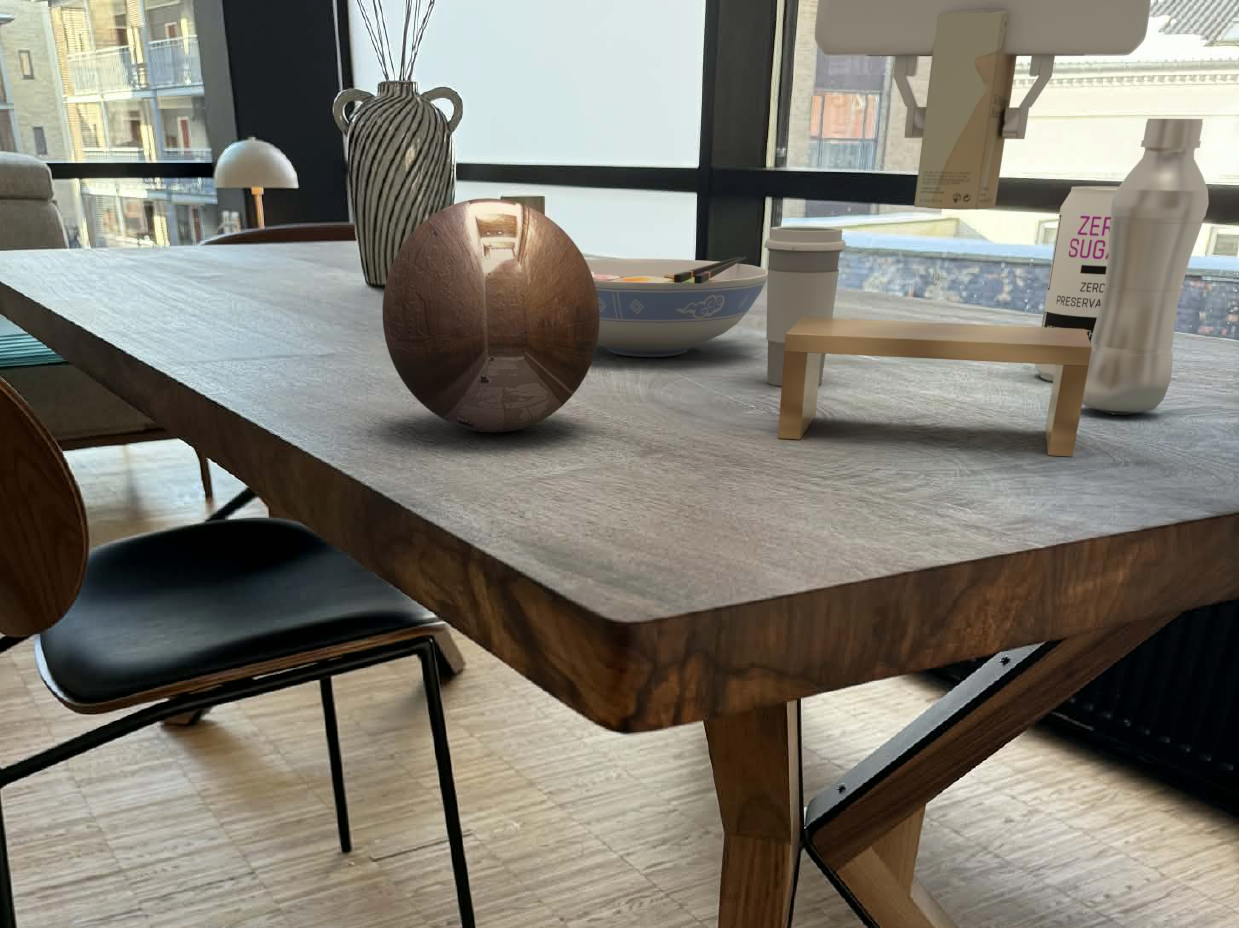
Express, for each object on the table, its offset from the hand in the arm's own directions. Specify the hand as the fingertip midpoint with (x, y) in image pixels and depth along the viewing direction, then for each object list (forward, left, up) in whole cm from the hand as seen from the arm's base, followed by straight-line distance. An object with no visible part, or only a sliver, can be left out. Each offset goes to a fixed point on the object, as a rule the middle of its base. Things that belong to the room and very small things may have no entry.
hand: (963, 138), depth 88 cm
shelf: (0, 0, -19) cm, 19 cm away
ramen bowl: (+28, -32, -19) cm, 47 cm away
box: (0, 0, -4) cm, 4 cm away
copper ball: (+30, +8, -19) cm, 36 cm away
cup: (+12, -19, -19) cm, 29 cm away
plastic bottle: (-14, -13, -19) cm, 27 cm away
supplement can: (-12, -29, -19) cm, 37 cm away
